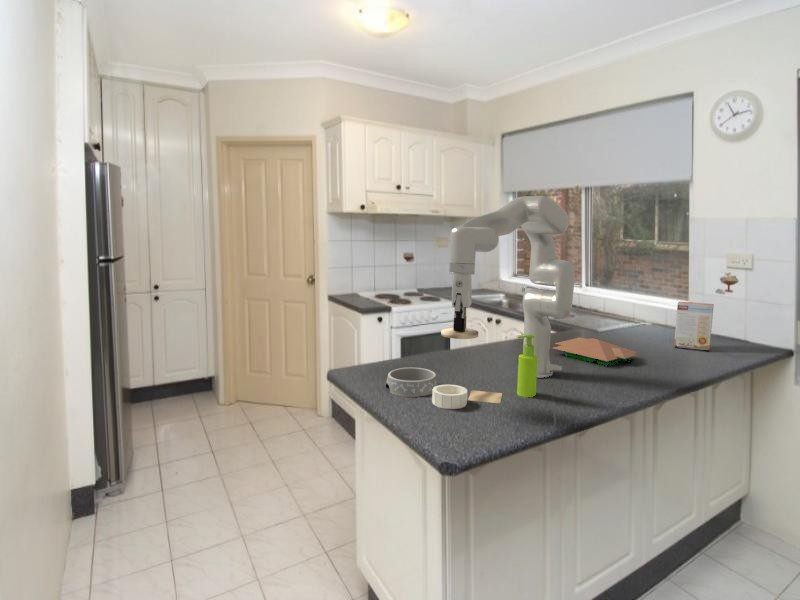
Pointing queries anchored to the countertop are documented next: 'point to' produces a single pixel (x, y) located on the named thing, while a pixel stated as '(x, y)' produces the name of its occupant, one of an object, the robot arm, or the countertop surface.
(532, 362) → the soap dispenser
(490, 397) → the mat
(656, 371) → the countertop surface
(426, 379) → the dog bowl
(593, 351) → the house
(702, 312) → the cracker box
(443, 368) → the countertop surface
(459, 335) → the lid
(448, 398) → the bowl
